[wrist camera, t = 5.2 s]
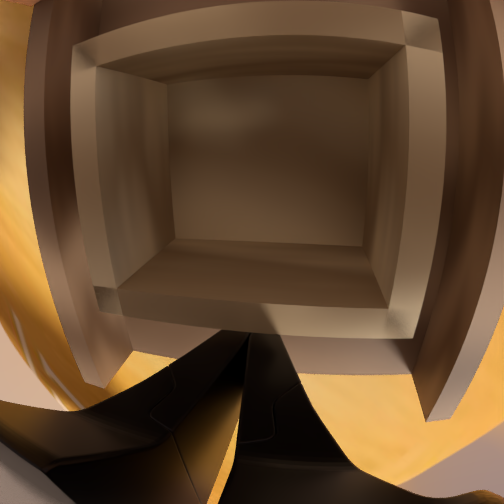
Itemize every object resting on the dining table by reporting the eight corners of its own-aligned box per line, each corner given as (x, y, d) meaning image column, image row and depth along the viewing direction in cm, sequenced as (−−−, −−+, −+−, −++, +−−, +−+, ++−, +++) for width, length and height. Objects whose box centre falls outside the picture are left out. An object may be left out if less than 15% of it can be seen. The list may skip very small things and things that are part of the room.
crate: (378, 262, 10) (412, 338, 6) (165, 252, 12) (99, 311, 8) (386, 63, 8) (437, 18, 4) (154, 70, 9) (72, 46, 5)
